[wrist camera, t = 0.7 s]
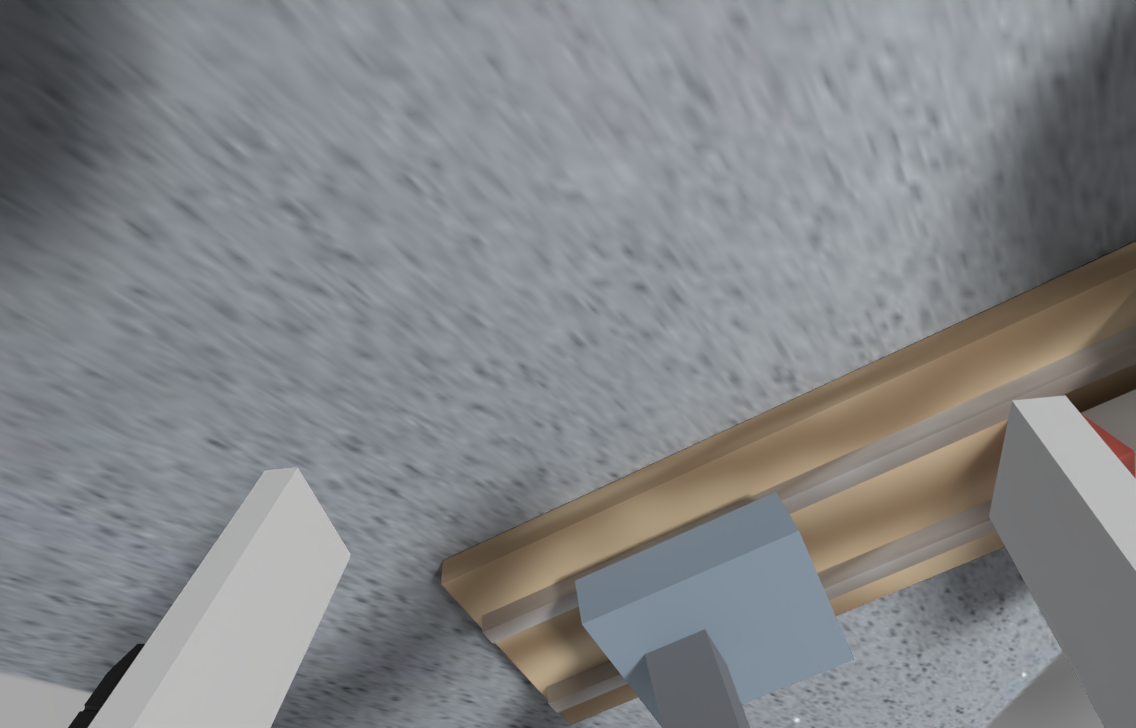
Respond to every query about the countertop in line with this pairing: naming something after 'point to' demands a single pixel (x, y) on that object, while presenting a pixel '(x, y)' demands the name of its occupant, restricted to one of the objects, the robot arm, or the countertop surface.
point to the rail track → (820, 476)
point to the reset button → (1117, 427)
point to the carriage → (715, 617)
